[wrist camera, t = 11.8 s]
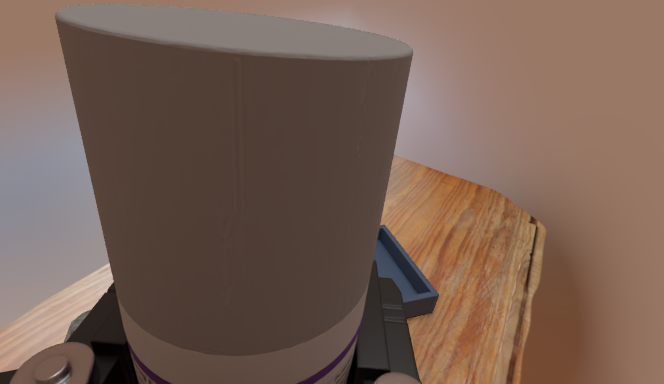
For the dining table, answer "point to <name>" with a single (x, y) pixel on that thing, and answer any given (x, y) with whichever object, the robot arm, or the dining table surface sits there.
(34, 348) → the dining table surface
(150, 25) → the container
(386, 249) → the tray
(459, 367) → the dining table surface
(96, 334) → the robot arm
